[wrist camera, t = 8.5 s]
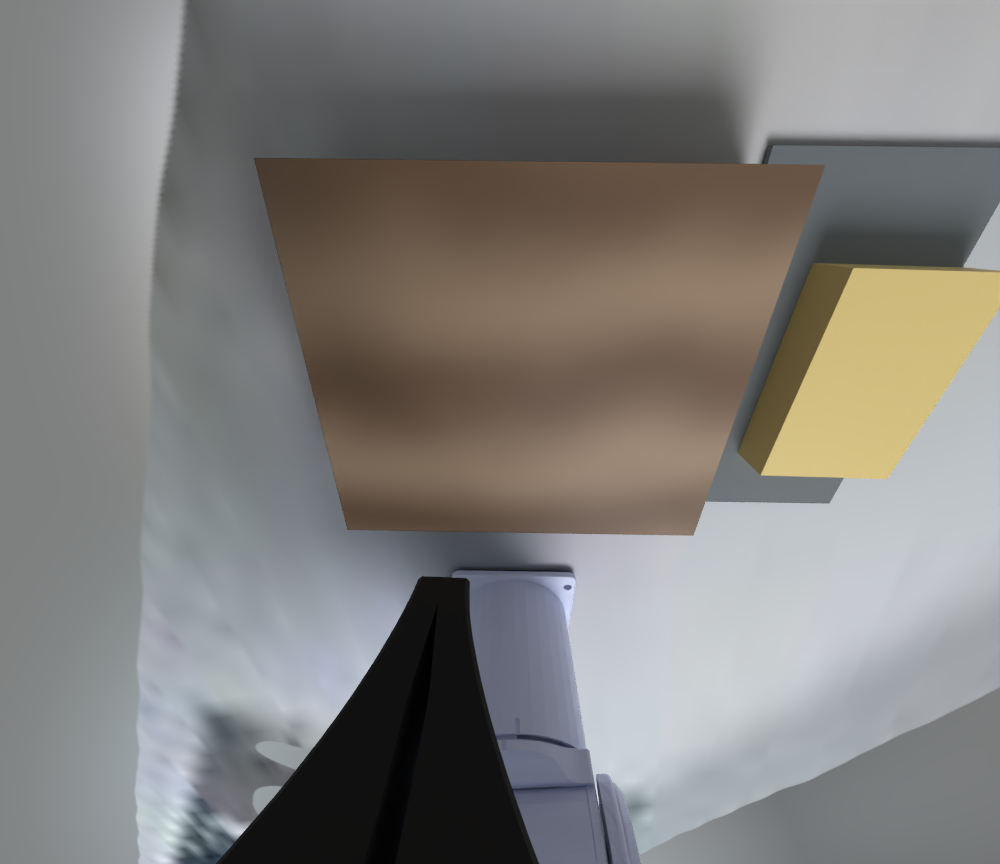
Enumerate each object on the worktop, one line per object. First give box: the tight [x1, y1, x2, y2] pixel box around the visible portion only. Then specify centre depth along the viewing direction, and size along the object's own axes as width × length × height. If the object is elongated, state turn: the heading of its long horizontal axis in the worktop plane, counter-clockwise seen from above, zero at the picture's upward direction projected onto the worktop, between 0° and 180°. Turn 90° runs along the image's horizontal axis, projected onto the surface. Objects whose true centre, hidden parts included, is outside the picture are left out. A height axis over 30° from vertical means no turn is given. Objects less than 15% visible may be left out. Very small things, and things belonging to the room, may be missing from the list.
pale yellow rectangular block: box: [738, 263, 1000, 479], centre depth 16 cm, size 9×6×2 cm, turn 179°
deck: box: [254, 158, 825, 535], centre depth 16 cm, size 14×16×4 cm
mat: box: [706, 145, 1000, 503], centre depth 17 cm, size 16×9×1 cm, turn 179°
